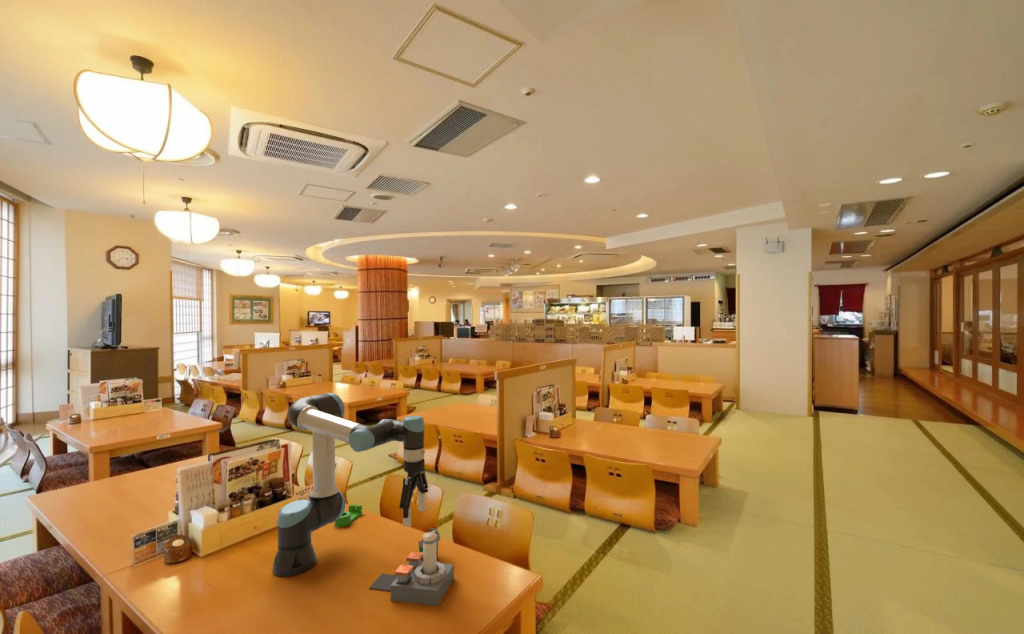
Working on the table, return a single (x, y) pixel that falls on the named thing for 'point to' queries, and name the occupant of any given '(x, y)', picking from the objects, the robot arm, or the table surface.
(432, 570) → the cartridge
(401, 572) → the plunger
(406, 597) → the housing
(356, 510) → the tape dispenser
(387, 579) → the mat
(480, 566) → the table surface
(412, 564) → the plunger
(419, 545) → the food container
